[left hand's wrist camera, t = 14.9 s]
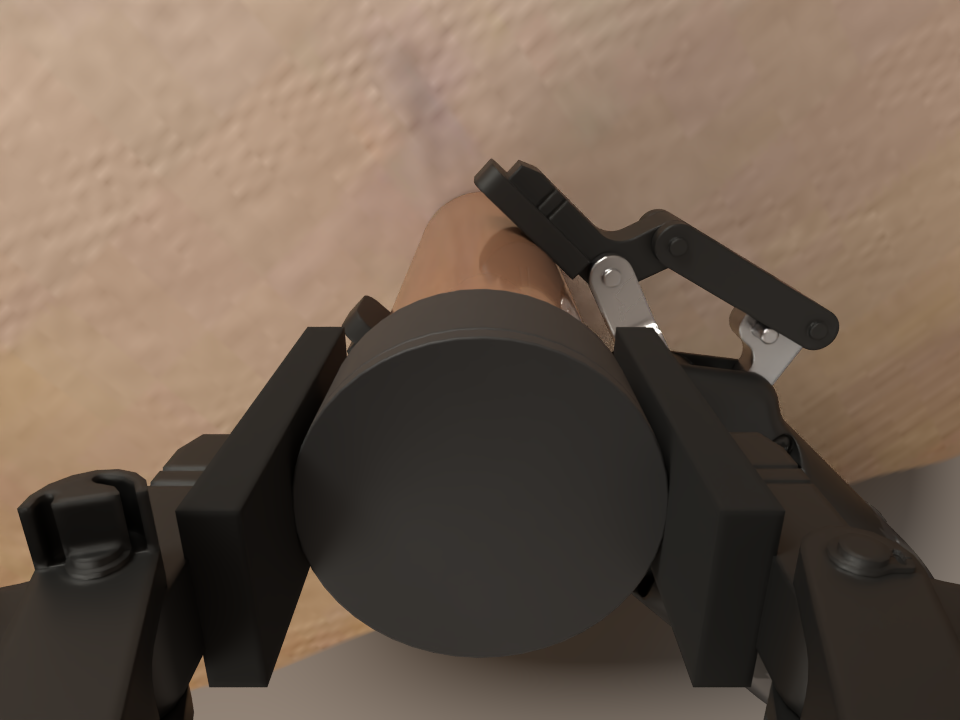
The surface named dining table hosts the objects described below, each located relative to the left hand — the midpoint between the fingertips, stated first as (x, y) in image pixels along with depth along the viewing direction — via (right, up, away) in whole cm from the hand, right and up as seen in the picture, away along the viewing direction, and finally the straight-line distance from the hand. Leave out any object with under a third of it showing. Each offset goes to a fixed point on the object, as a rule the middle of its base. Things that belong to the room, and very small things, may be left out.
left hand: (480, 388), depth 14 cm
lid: (0, -2, -4) cm, 4 cm away
